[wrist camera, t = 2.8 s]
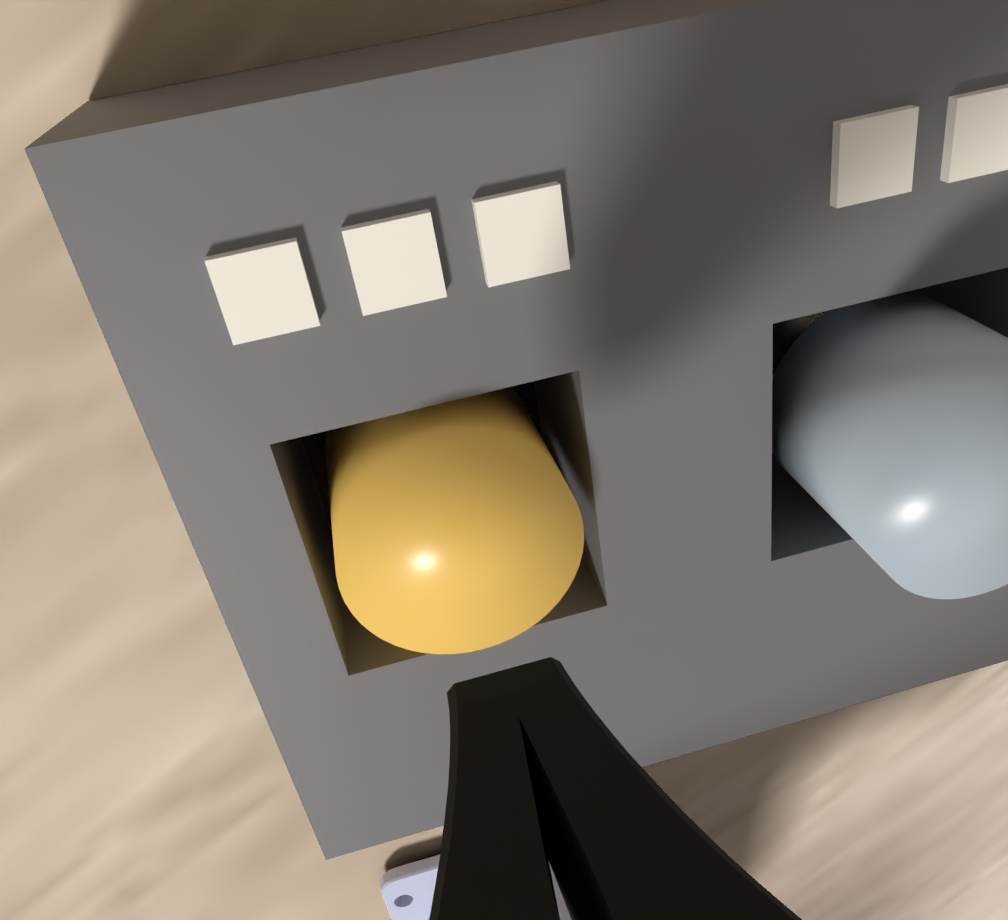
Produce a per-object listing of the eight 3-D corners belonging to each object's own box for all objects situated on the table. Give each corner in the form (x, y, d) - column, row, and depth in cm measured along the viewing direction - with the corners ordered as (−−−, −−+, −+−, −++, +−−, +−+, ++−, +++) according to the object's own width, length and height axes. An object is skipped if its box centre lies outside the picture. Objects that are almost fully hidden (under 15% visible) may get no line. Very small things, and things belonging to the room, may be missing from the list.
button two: (951, 457, 18) (1090, 563, 15) (763, 507, 17) (867, 626, 14) (976, 267, 16) (1145, 342, 12) (764, 316, 15) (886, 408, 12)
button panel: (1198, 473, 24) (1361, 564, 20) (319, 714, 21) (326, 868, 18) (1391, -152, 16) (1698, -182, 13) (87, 101, 14) (20, 151, 10)
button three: (543, 508, 18) (595, 619, 15) (353, 556, 18) (368, 680, 15) (515, 331, 16) (569, 418, 13) (299, 381, 16) (304, 483, 13)
